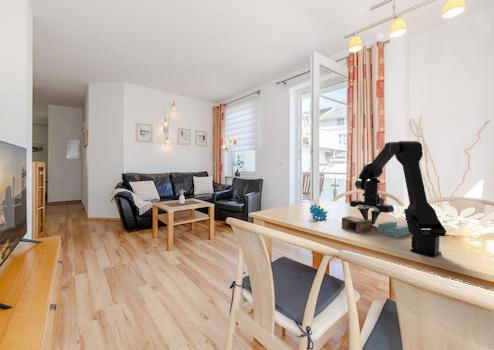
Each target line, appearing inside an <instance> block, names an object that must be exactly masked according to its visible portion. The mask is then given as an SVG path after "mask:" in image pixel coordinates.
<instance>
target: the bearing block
mask: <svg viewBox="0 0 494 350" xmlns="http://www.w3.org/2000/svg"><path fill="white" fill-rule="evenodd" d="M354 223H356V228H355V226H354ZM341 228H343V229H347V230H348V229H353V228H355V230H356V232H357V233H361V234H364V233H368V232H371V226H370V221H369V219H368V220H364V218H359V217H354V216H351V215H350V216H344V217H341Z"/></svg>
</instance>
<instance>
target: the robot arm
mask: <svg viewBox="0 0 494 350" xmlns="http://www.w3.org/2000/svg"><path fill="white" fill-rule="evenodd" d="M383 146H384V147H383V148H382V150H381V151H380V152H378V154H377V156H376V157H375V158H374V159H373V161H371V162H368V163H367V164H365V165H364V166H363V167H362V170H361V171H360V173H359V175H358V179H356V181H355V182H354V187H355V189H357V190H362V191H364V192H363V193H362V196H363V200H358V199H356V200H350V202H349V207H353V208H356V207H358V208H357V210H359V212H360V214H361V216H362V219H364V220H369V210H370V209H373V210H371V212H370V213H371V219H372V224H374V225H376V221H377V219H378V217H379V216H380V214H381V213H385V214H390V213H394V212H395V211H394V210H395V208H394V206H393V205H391V204H385V199H384V198H382V197H381V196H380V194H379V192H378V191H379V184H381V181H380V180H379V179H378V178H380V177H381V175H382V174H383V172H384V171H383V170H384V169H383V168H384V167H385V166H386V165H387V164H388V163H389V161H390V160H391V159H392V158H393V157H394V156H395V158H396V160H397V161H398V162H399V163H400V164H401V165H402V170H403V175H404V181H405V185H406V191H407V196H408V201H409V205H408V207H407V208H404V210H403V212H404V216H405V221H406V225H408V230H409V233H411V235H412V236H411V243H410V247H411V248H410V251H411V252H412V253H413V252H414V253H416V254H420V255H423V256H426V257H430V258H435V257H437V256H439V255H440V254H442V251H440V237H445V236H446V234H447V229H446V228H445V227H444V225H443V224H442V223H441V221H440V219H439V218H438V215H437V213H436V209H434V208H433V207H432V206H431V204H430V203H429V202H428V200H427V199H428V198H427V195H426V189H425V184H424V181H423V175H422V169H421V165H420V161H421V159H422V158H423V146H422V143H421V142H420V141H417V140H414V141H413V140H412V141H411V140H400V141H399V140H398V141H388V142H386V143H385V144H384V145H383Z"/></svg>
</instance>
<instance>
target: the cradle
mask: <svg viewBox="0 0 494 350" xmlns="http://www.w3.org/2000/svg"><path fill="white" fill-rule="evenodd" d="M397 223H398V222H397V221H394V220H392V221H387V222H383V223H379V224H377V233H379V234H382V235H386V236H391V237H395V238H401V237H403V236H407V235H410V234H411V233H409V230H408V225H407V224H403V225H400V226H398V225H397ZM411 235H412V234H411Z"/></svg>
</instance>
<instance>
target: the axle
mask: <svg viewBox="0 0 494 350" xmlns="http://www.w3.org/2000/svg"><path fill="white" fill-rule="evenodd" d="M368 220H369V221H370V227H371V226H375V224H372V218H370V219H369V218H368ZM354 226H355V227H354V228H355V229H356V223H354Z"/></svg>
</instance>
